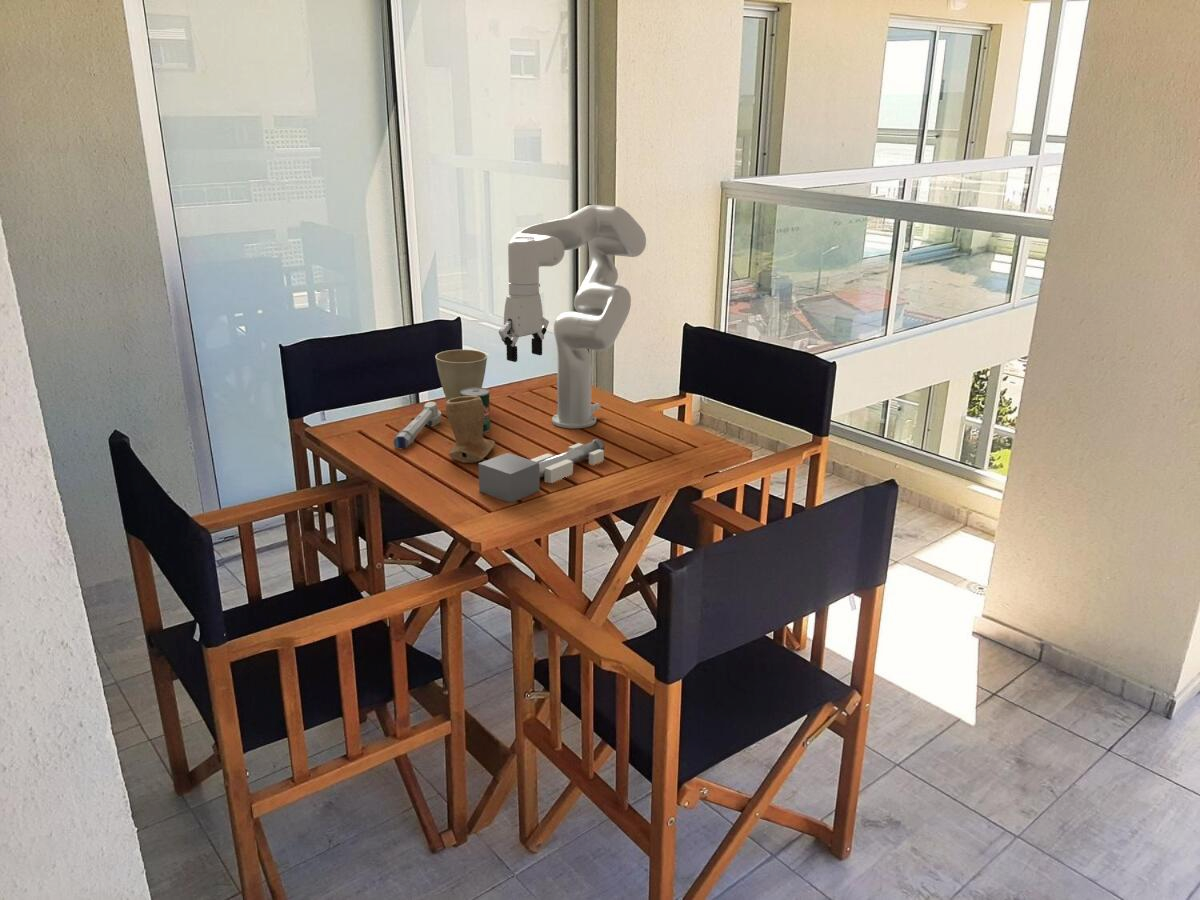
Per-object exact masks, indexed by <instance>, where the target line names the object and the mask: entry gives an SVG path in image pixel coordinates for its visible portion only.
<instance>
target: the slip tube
mask: <svg viewBox="0 0 1200 900" xmlns="http://www.w3.org/2000/svg"><path fill="white" fill-rule="evenodd" d="M598 449H601V450H604V451H605V444H604V442H603V441H602V440H601V439H599V438H595V439H592V440H590V441H589V442H587V443H586V444H583V446H580V447H577V448H575V449H572V450H570V451H568V450H567V451H565V452H562V453H560V454H557V455H555V456H554V455H553V457H552V458H549V459H547V460H544V461H542V462H539V479H540V478H542V477H545V468H546V467H549V466H551V465H554V464H556V463H559V462H561V461H564V460H566V459H567V460H571V461H573V465H574V464H577V463H579V462H581V461H584V460H586V459H589V453H590V452H593V451H595V450H598Z"/></svg>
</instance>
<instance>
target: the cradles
mask: <svg viewBox="0 0 1200 900" xmlns="http://www.w3.org/2000/svg"><path fill="white" fill-rule="evenodd" d="M583 445H584V444H583V443H580V442H577V443H575V444H572V445H570V446H568V450H567V451H570V450H572V449H575V448H577V447H580V446H583ZM552 457H554V454H551V453H545V454H542V455H539V456H537V457H534V458H531V459H530V460H532V461H535V462H538V463H539V462H542V461H544V460H547V459H549V458H552ZM603 460H605V449H604V450H601V449H598V450H595V451H593V452H590V453H589V458H588V464H589V463H590V464H593V465H594V464H596V463H598V462H601V461H603ZM593 465H592V466H593ZM594 466H595V465H594ZM571 474H573V475H574V464H573V461H571V460H567V459H566V460H564V461H561V462H559V463H556V464H554V465H551V466H549V467H546V468H545V476H544V482H545V481H546V482H545V483H547V482H550V483H552V484H554V483H556V482H555V481H557V480H559V479H561V480H563V479H562V478H564V477H566V478H568V477H570V476H569V475H571ZM567 476H568V477H567ZM571 476H572V475H571ZM564 479H565V478H564ZM559 481H560V480H559ZM553 482H554V483H553ZM557 482H558V481H557ZM550 483H549V484H550Z"/></svg>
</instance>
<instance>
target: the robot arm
mask: <svg viewBox="0 0 1200 900" xmlns="http://www.w3.org/2000/svg"><path fill="white" fill-rule="evenodd" d="M587 243H588V244H587ZM585 244H587V245H588V251H589V269H588V270H587V273H586V274H585V275H586V276H585V277H584V279H583V280H582V283H581V284H580V286H579V288H578V290H577V292H576V294H575V296H574V300H573V305H574V306H573V307H574V308H575V311H572V310H571V311H563V312H562V313H560V314H558V315H557V317H556V319H555V320H554V323H553V332H554V333H553V334H554V340H555V346H556V354H557V359H556V360H557V374H556V375H557V379H556V380H557V383H556V384H557V387H556V388H557V393H556V394H557V398H556V399H557V400H556V402H557V403H556V404H557V406H556V408H557V413H556V414H554V415H553V416H552V417H551V422H552V424H553V425H555V426H556V427H559V428H565V429H586V428H590V427H592V426H595V424H596V423H597V417H596V416H595V415H594V414H593V413H594V412H595V411H598V410H600V409H601V404H600V403H599V402H596V403H593V404H592V372H593V371H592V359H591V355H590V353H589V351H588V350H591V351H592V350H593V351H600V352H603V351H608V350H609V349H610V348H611V347H612V346H613V345H614V343H615V341H616V340H617V338H618V335H619V334H620V332H621V330H622V328H623V326H624V324H625V322H626V320H627V318H628V315H629V314H630V310H631V305H632V304H631V303H632V298H631V293H630V291H629V290H628V289H627V288H626V287H624V286H622V285H620V284H617V282H618V278H619V273H618V269H617V267H616V264H615V263H614V262H613V259H612V256H619V257H625V258H626V257H627V258H628V257H629V258H635V257H639V256H641V255H642V254H643V253H644V251H645V248H646V246H647V236H646V233H645V231H644V229H643V227H642V226H641V225H640V224H639V223H638V222H637V221H636V219H635V217H633V216H632V215H631V214H630V213H629V212H628V211H626V210H625V209H624V208H622V207H621V206H615V205H602V204H590V205H586V206H584V207H581V208H580V209H578V210H576V211H574V212H573V213H571V214H569V215H567V216H566V217H563V218H558V219H554V220H549V221H547V222H546V221H545V222H541V223H537V224H536V223H535V224H533V225H529V226H528V227H525V228H523V229H521V230H519V231H518V232H516V233H515V234H514V235H513V236H512V238H511V239H510V240H509V242H508V245H507V250H508V251H507V252H508V253H507V256H508V258H507V259H508V262H507V264H508V268H507V269H508V295H506V299H505V304H504V313H503V325H502V326H501V328H500V329H499V330H498V334H499V337H500V338H501V341H502V342H503V343H504V344H503V345H505V346H506V360H507V361H509V362H513V363H517V362H518V346H517V342H518V340H519V338H522V337H527V336H530V335H531V336H532V338H531V354H532V355H537V356H542V355H543V340H544V339H545V334H546V332H547V329H548V326H549V323H550V322H549V320H548V319H546V318H545V317H544V316H543V315H544V313H543V305H542V304H543V303H542V297H541V294H540V287H541V284H540V283H541V282H540V268H541V267H554V266H557V265H558V264H560V262H562V260H563V259H564V256H565V251H570V250H576V249H579V248H581V247H582V246H583V245H585Z"/></svg>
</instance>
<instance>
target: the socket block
mask: <svg viewBox="0 0 1200 900" xmlns="http://www.w3.org/2000/svg"><path fill="white" fill-rule="evenodd" d="M478 491H479V492H480V493H482V494H485V495H488V496H491V497H493V498H497V499H499V500H501V501H504V502H507V503H512V504H513V503H514V502H517V501H518V500H519V501H520V500H521V499H523V498H526V497H528V496H531V495H534V494H535V492H536V493H538V492H540V478H539V463H538V462H535V461H532V460H531V459H528V458H525V457H522V456H519V455H515V454H512V453H509V452H506V453H503V454H500V455H497V456H495V457H492V458H489V459H487V460H484V461H483V460H482V462H479V463H478ZM537 491H538V492H537Z"/></svg>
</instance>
